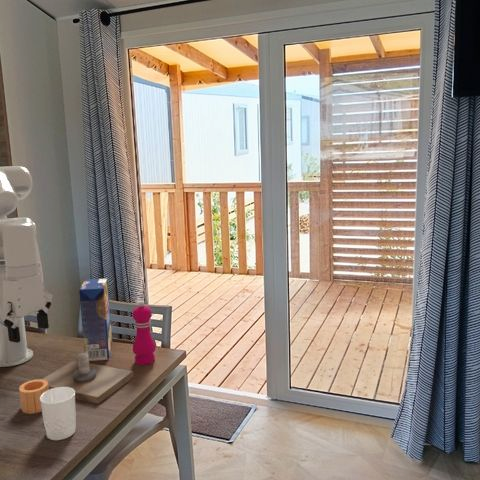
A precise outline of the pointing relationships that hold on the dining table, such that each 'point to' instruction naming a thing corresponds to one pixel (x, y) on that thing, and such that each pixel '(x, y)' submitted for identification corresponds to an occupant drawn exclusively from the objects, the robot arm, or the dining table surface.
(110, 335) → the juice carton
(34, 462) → the dining table surface
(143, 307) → the pepper mill
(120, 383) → the post board
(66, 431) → the white cup
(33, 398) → the ring
